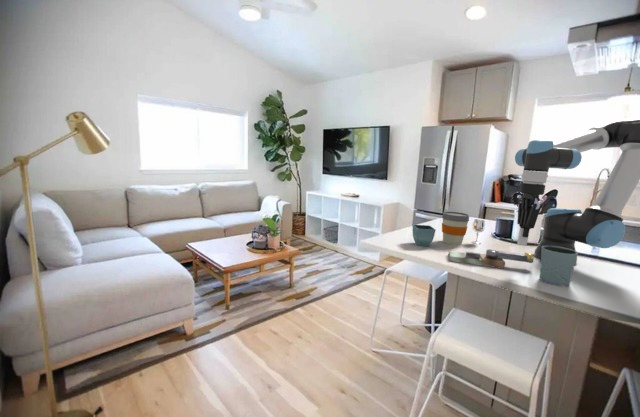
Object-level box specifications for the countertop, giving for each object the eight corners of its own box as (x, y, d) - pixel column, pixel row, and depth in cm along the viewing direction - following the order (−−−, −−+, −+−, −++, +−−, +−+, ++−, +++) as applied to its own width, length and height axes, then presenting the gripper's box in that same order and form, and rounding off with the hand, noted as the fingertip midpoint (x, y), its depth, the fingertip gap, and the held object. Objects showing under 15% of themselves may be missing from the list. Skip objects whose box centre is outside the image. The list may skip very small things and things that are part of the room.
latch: (530, 260, 122) (532, 252, 121) (534, 263, 117) (536, 255, 117) (484, 254, 127) (485, 247, 126) (487, 257, 122) (488, 249, 122)
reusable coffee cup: (434, 239, 159) (437, 211, 156) (454, 238, 162) (458, 211, 159) (449, 246, 147) (453, 216, 144) (471, 245, 150) (475, 216, 147)
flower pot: (434, 247, 143) (436, 229, 141) (415, 246, 143) (417, 228, 142) (427, 242, 152) (429, 225, 150) (410, 241, 152) (412, 224, 150)
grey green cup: (578, 288, 103) (585, 255, 101) (545, 285, 105) (551, 252, 103) (560, 277, 113) (566, 246, 111) (530, 274, 114) (536, 243, 112)
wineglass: (484, 245, 152) (487, 222, 150) (471, 243, 153) (475, 221, 151) (480, 242, 158) (483, 219, 156) (468, 240, 159) (471, 218, 157)
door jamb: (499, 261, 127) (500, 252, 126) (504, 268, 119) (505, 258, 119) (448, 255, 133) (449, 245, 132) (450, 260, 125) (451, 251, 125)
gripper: (554, 185, 104) (541, 250, 108) (535, 182, 116) (524, 241, 121) (531, 183, 105) (519, 248, 109) (514, 181, 118) (503, 239, 122)
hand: (521, 244), depth 115 cm, fingers closed
